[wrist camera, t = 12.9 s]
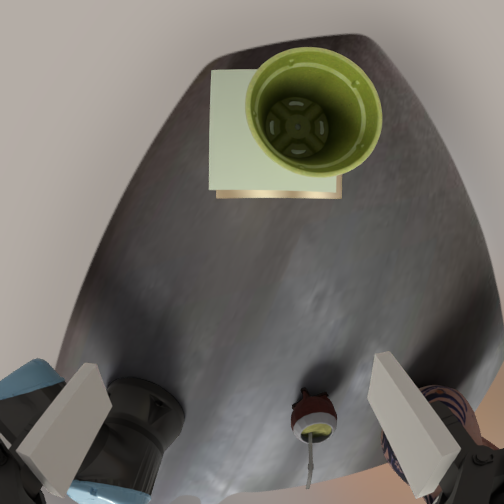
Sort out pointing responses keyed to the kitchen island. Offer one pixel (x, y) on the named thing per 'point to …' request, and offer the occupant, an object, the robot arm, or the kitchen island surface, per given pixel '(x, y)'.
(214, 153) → the upper block
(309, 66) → the plant pot
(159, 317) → the kitchen island surface
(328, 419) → the mate gourd
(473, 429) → the ceramic pitcher
